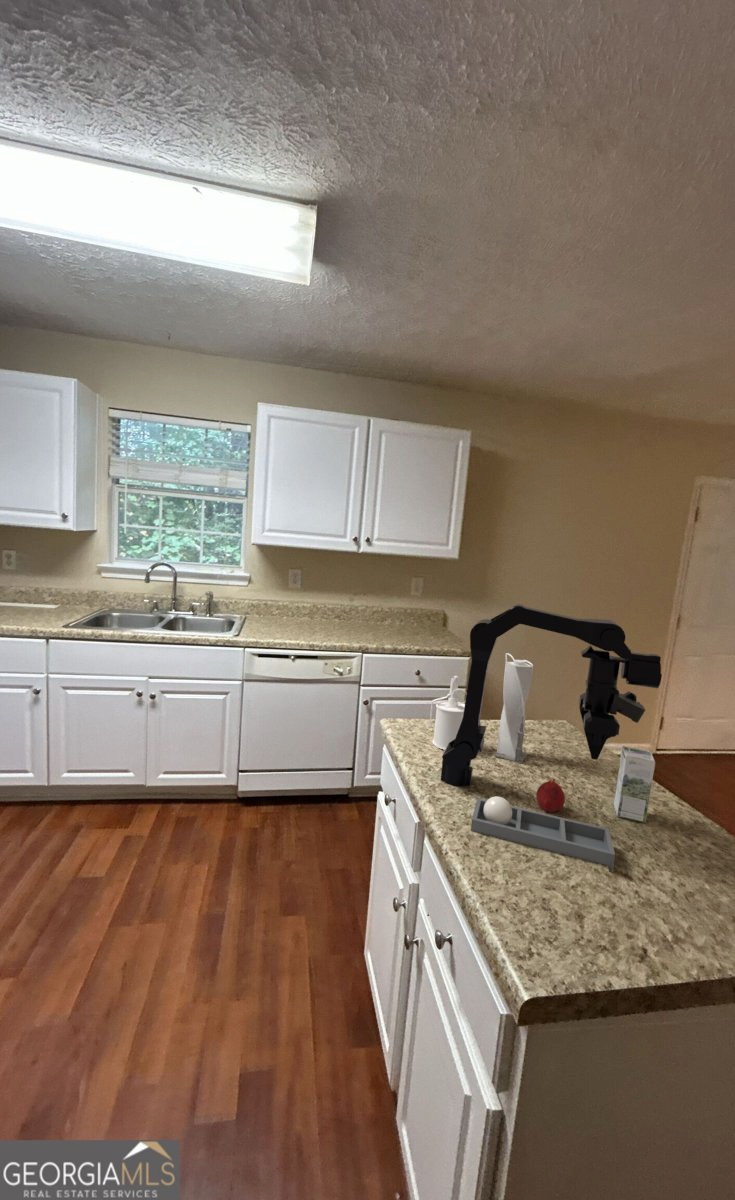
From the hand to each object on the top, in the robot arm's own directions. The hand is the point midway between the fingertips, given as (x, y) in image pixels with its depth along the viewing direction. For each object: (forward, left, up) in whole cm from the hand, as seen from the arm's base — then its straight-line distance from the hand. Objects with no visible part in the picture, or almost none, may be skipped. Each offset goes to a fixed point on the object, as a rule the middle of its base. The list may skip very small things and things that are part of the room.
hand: (592, 750), depth 108 cm
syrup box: (+10, +5, -15) cm, 18 cm away
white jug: (-34, +23, -15) cm, 44 cm away
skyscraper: (-17, +25, -15) cm, 34 cm away
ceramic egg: (-18, -15, -14) cm, 27 cm away
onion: (-7, -3, -15) cm, 17 cm away
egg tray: (-9, -15, -15) cm, 23 cm away
